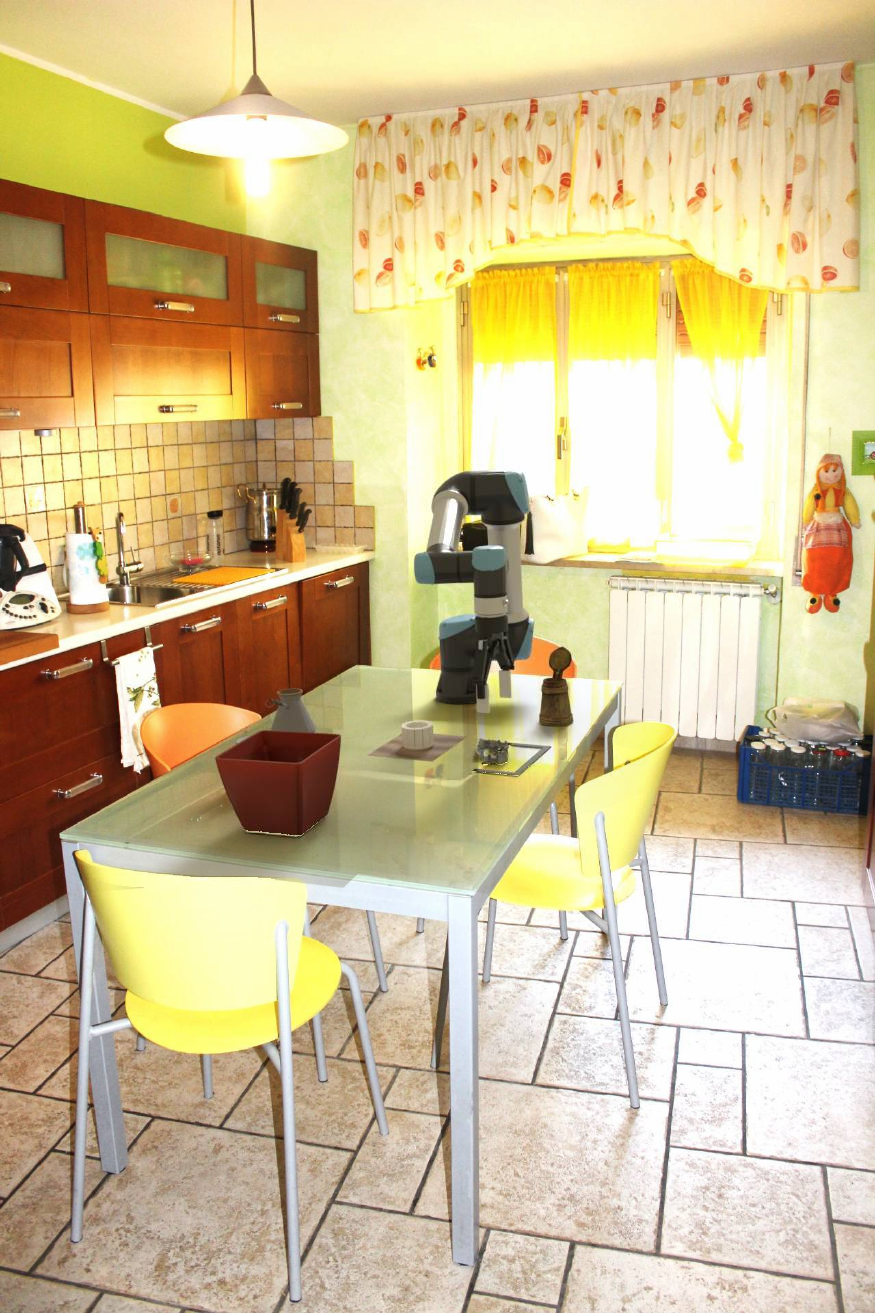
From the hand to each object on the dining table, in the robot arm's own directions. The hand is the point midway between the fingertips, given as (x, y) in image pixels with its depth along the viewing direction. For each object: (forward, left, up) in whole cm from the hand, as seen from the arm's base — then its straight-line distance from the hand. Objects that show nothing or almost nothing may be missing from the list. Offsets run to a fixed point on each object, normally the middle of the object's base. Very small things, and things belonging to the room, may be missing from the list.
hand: (494, 704), depth 256 cm
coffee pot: (+6, -54, -13) cm, 56 cm away
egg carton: (0, -1, -13) cm, 13 cm away
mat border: (0, 0, -13) cm, 13 cm away
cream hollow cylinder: (0, -21, -12) cm, 24 cm away
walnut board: (0, -21, -13) cm, 24 cm away
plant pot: (+52, -25, -13) cm, 59 cm away
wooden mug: (-35, +3, -13) cm, 37 cm away
